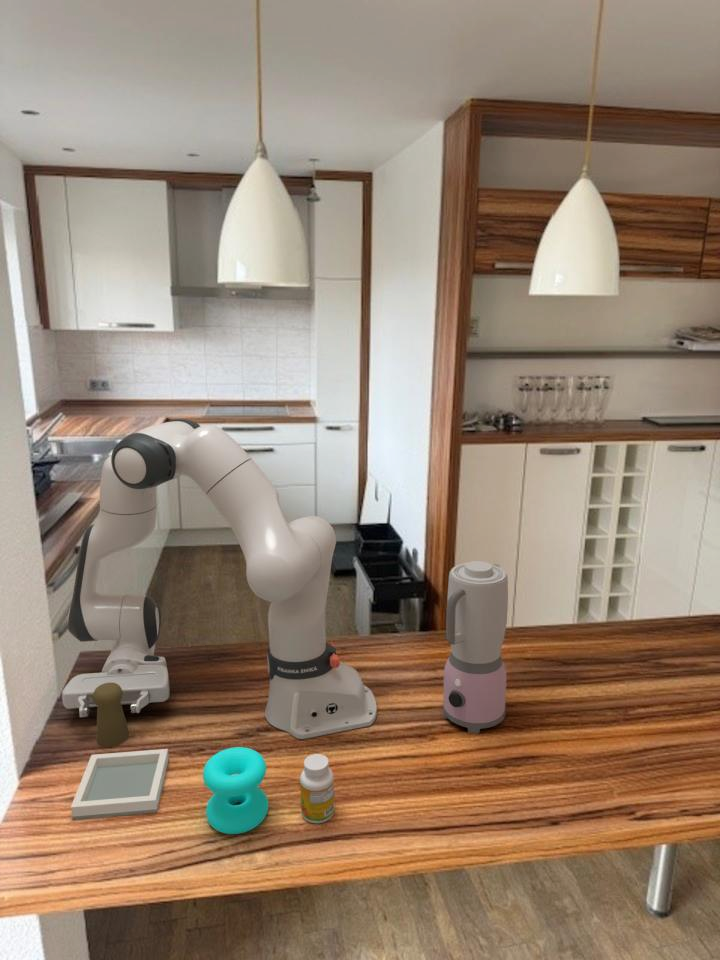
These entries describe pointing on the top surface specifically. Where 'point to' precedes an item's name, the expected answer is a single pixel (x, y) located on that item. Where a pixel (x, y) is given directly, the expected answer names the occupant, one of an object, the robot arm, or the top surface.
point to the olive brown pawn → (110, 715)
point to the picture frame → (121, 784)
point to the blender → (476, 645)
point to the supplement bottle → (317, 789)
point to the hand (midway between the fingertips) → (109, 711)
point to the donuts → (235, 790)
